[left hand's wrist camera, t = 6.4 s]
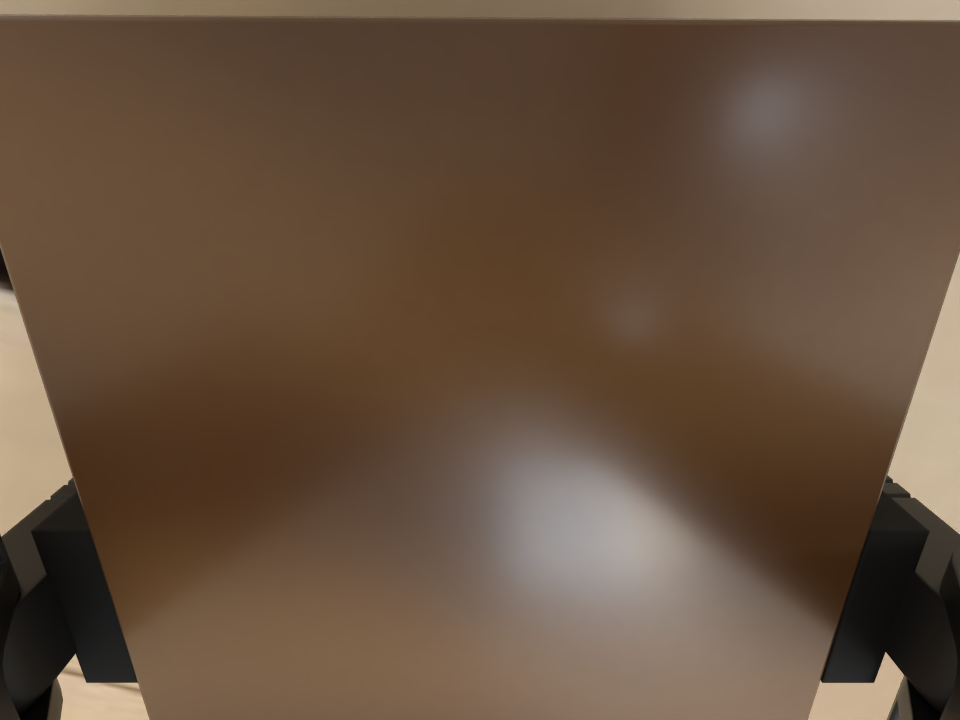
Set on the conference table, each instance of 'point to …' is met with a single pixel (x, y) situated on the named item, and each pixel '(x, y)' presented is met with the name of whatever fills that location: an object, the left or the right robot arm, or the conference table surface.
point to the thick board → (479, 345)
